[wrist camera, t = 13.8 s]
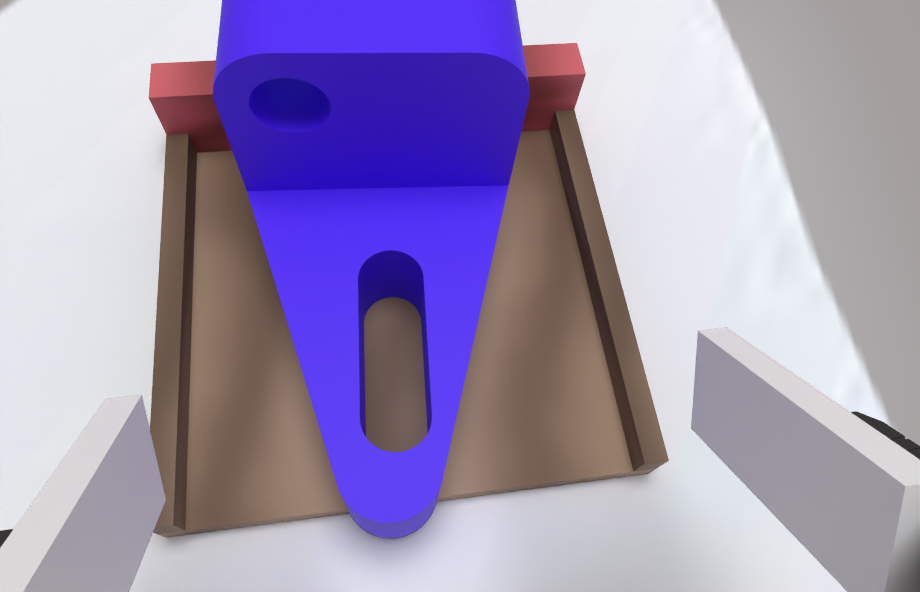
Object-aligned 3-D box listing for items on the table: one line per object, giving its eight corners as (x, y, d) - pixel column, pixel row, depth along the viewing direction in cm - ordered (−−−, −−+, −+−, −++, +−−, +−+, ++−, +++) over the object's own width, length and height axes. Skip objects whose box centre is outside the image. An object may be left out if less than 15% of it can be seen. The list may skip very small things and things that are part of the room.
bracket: (270, 164, 34) (209, -47, 23) (487, 160, 35) (523, -43, 24) (250, 548, 26) (143, 493, 15) (530, 528, 27) (610, 464, 17)
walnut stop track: (166, 537, 27) (118, 519, 22) (183, 135, 35) (151, 63, 31) (648, 473, 29) (692, 445, 25) (556, 112, 38) (576, 42, 33)
